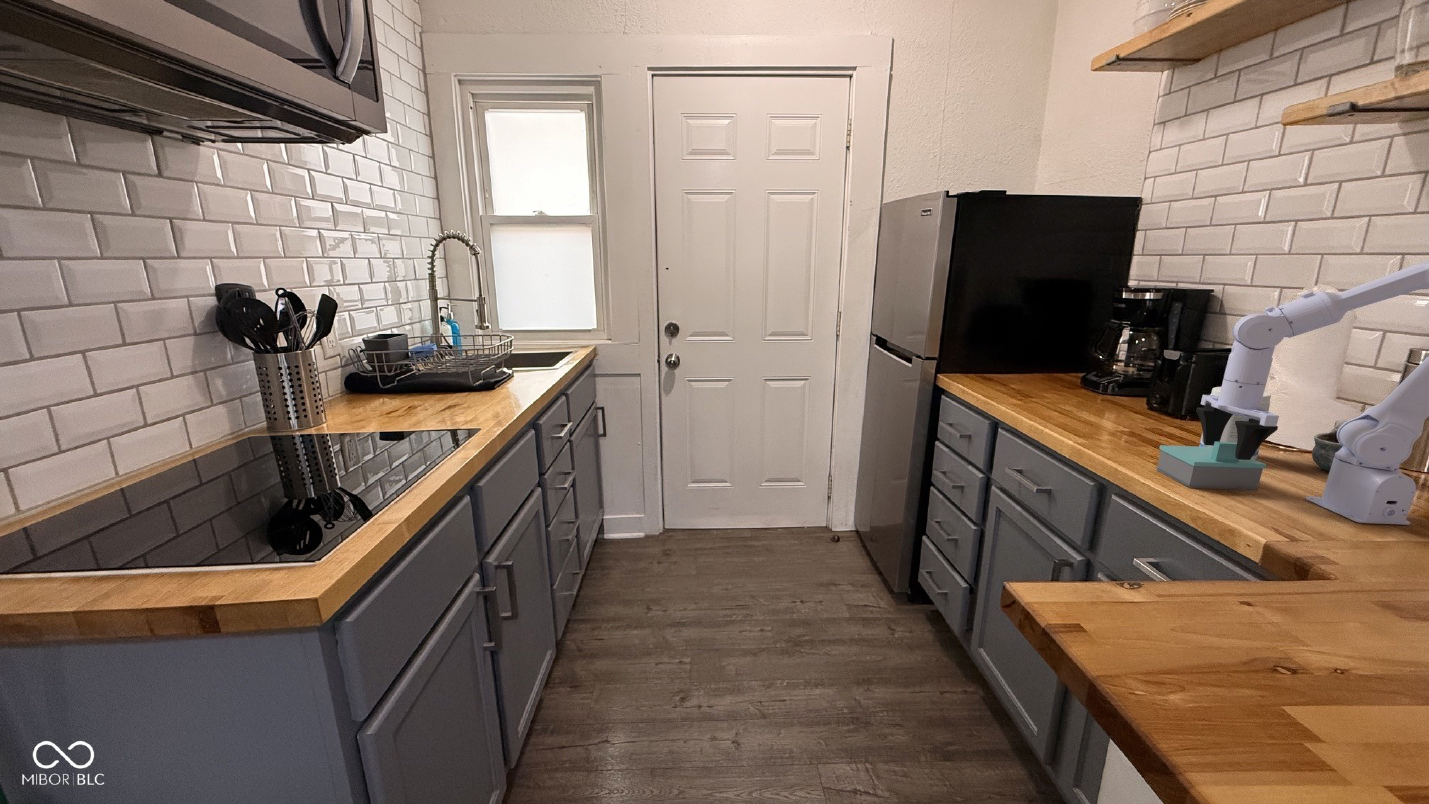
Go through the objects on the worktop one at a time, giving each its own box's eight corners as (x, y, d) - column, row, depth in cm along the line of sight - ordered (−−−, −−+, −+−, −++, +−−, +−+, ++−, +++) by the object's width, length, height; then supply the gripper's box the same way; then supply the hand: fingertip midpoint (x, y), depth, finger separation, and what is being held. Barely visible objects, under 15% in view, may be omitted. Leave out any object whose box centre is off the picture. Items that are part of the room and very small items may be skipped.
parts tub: (1257, 490, 104) (1263, 467, 103) (1188, 487, 105) (1194, 465, 104) (1219, 472, 113) (1224, 451, 111) (1156, 470, 114) (1161, 449, 112)
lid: (1263, 473, 103) (1271, 446, 101) (1192, 470, 104) (1198, 444, 103) (1223, 455, 112) (1230, 430, 111) (1158, 453, 113) (1163, 428, 112)
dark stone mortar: (1318, 476, 111) (1331, 427, 108) (1291, 458, 121) (1302, 413, 119) (1387, 484, 106) (1403, 434, 104) (1353, 465, 117) (1366, 419, 115)
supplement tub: (1261, 458, 121) (1279, 392, 117) (1247, 467, 115) (1266, 398, 112) (1205, 445, 128) (1220, 384, 125) (1190, 453, 123) (1205, 389, 120)
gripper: (1191, 372, 108) (1175, 438, 111) (1254, 389, 94) (1234, 465, 97) (1230, 373, 107) (1213, 439, 111) (1299, 391, 93) (1278, 466, 97)
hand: (1226, 451), depth 104 cm, fingers open, 7 cm apart
